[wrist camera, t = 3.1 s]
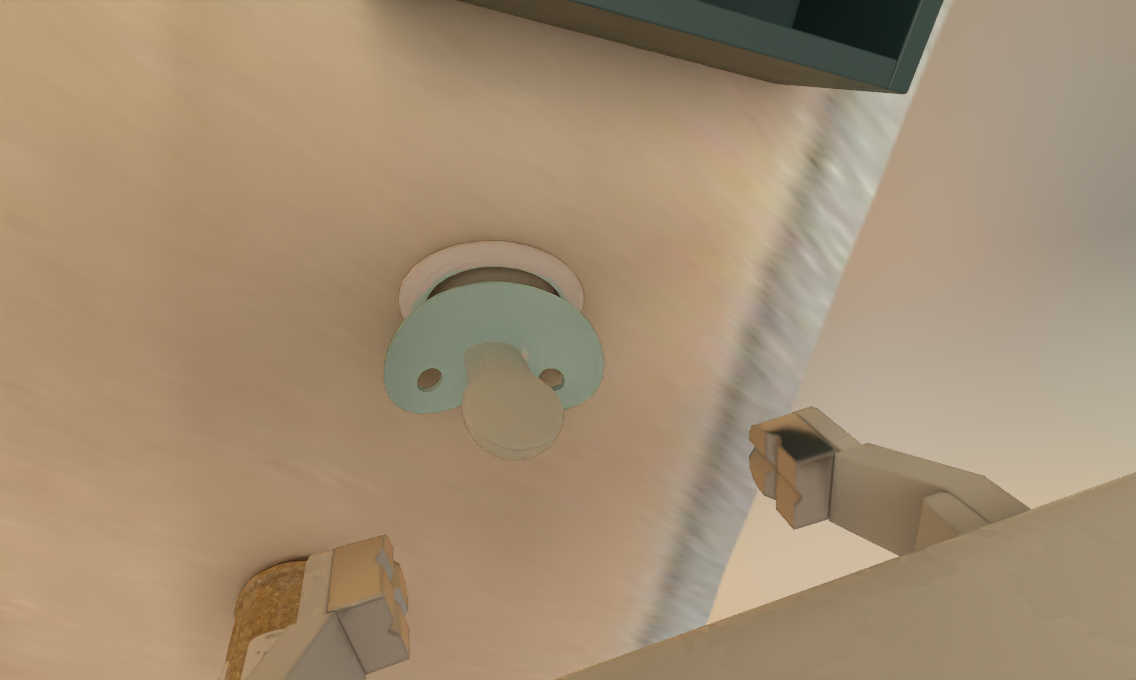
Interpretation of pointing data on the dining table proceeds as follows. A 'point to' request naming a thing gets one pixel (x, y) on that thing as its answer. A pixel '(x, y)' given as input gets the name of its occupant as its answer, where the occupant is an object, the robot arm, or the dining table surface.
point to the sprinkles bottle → (262, 616)
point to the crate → (760, 35)
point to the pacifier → (495, 346)
